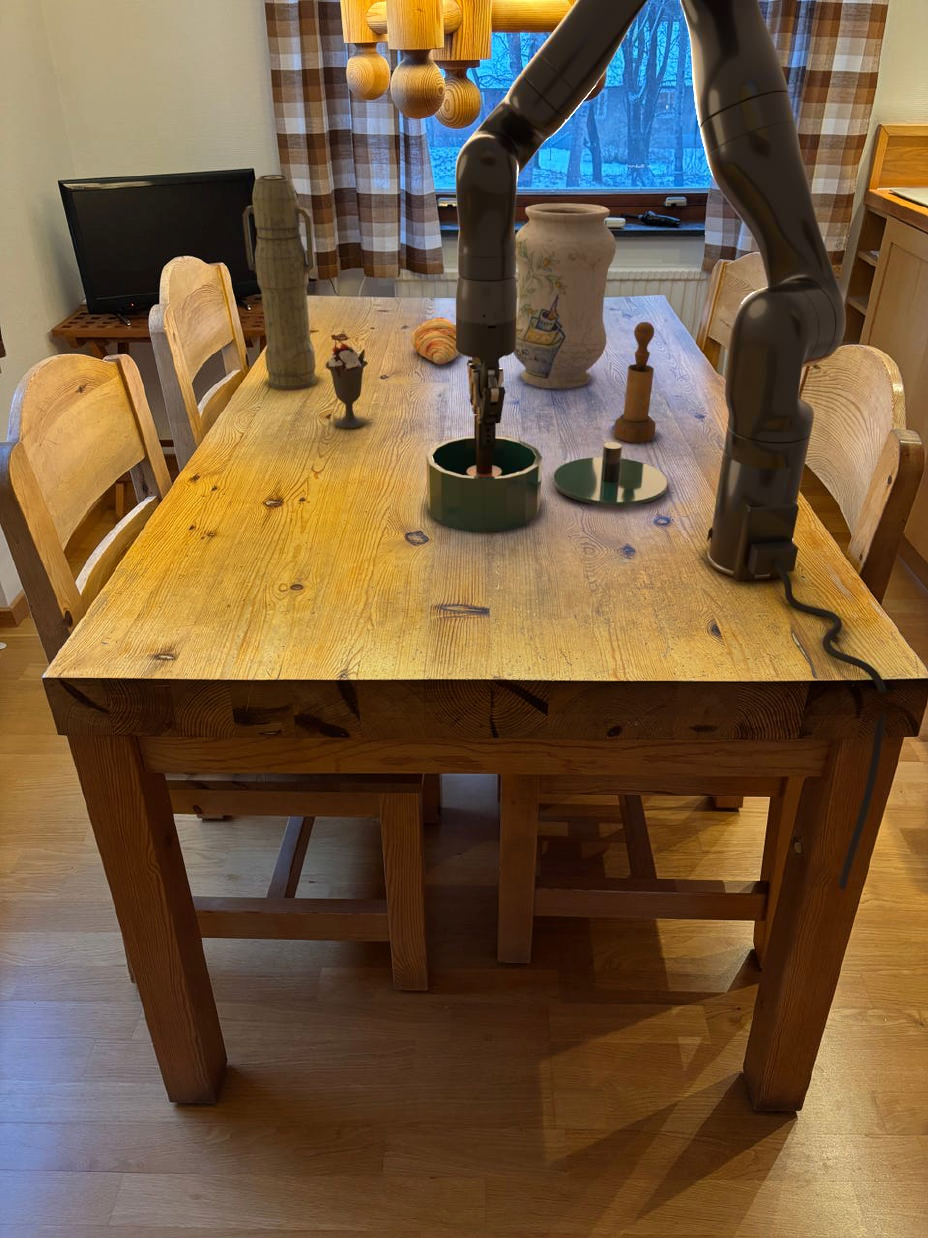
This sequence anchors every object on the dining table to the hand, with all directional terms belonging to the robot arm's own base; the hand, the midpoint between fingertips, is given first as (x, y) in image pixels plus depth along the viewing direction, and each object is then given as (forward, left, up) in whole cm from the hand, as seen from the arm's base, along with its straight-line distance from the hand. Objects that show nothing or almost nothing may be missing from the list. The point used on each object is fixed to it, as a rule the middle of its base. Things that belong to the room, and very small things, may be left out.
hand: (484, 445), depth 128 cm
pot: (0, 0, -9) cm, 9 cm away
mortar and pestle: (+23, -29, -9) cm, 38 cm away
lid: (+4, -19, -8) cm, 21 cm away
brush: (0, 0, -8) cm, 8 cm away
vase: (+54, -24, -9) cm, 60 cm away
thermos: (+60, +25, -9) cm, 66 cm away
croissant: (+74, -4, -9) cm, 75 cm away
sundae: (+36, +16, -9) cm, 40 cm away
